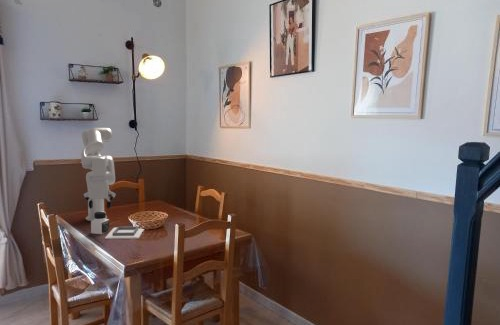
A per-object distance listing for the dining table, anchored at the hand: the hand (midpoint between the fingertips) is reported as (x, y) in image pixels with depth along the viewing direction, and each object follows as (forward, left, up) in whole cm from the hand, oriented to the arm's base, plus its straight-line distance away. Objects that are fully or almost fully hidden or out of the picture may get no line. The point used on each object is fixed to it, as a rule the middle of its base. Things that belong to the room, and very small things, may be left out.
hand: (100, 208), depth 196 cm
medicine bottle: (0, 0, -15) cm, 15 cm away
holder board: (+3, +15, -14) cm, 21 cm away
